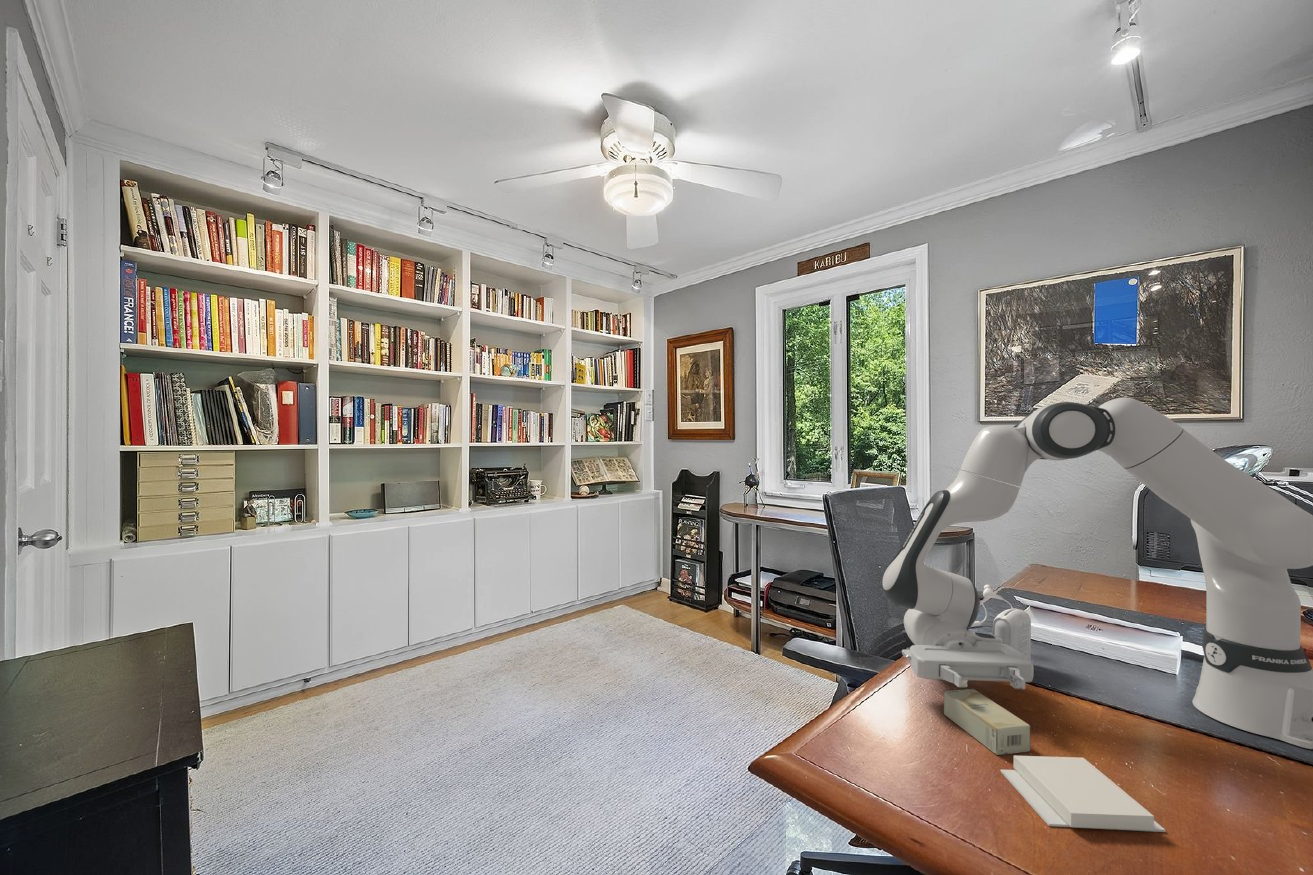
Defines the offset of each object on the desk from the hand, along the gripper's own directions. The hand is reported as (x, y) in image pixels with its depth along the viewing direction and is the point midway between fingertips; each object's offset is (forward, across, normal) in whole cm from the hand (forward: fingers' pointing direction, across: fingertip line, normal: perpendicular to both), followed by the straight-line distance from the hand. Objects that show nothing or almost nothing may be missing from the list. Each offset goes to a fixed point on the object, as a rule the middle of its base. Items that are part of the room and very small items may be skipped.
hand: (992, 684), depth 91 cm
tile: (+11, +2, +6) cm, 13 cm away
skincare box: (+7, 0, +6) cm, 9 cm away
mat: (+17, +2, +8) cm, 19 cm away
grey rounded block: (-25, +17, +8) cm, 31 cm away
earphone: (-42, +19, +8) cm, 46 cm away
